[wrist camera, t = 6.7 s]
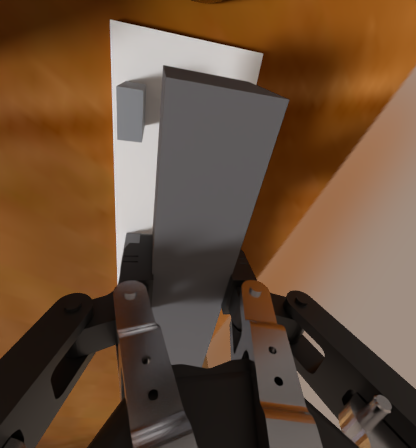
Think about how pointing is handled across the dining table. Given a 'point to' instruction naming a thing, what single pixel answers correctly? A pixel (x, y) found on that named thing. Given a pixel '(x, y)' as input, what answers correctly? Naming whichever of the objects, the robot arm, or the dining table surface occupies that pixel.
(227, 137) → the grey orange bar
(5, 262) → the dining table surface
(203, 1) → the supplement bottle
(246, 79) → the white grey holder tray
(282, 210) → the dining table surface
